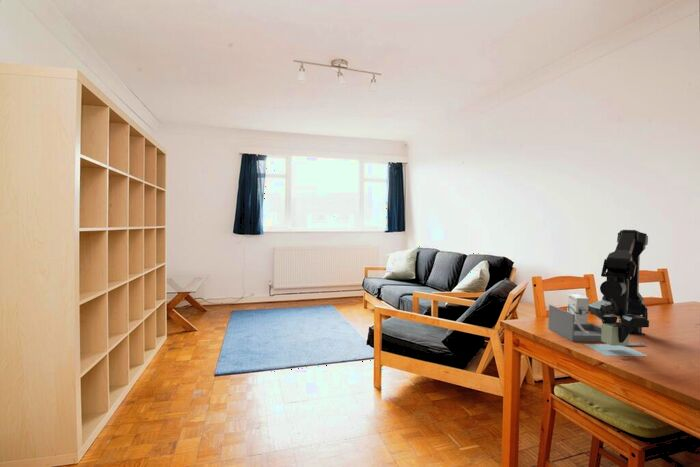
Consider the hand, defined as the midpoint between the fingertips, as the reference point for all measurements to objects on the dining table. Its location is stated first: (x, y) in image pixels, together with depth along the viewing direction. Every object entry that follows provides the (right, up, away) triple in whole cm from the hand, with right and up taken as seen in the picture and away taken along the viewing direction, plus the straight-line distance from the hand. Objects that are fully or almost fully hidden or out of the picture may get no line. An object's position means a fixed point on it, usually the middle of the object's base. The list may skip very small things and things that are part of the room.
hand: (615, 339), depth 114 cm
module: (0, -1, 0) cm, 1 cm away
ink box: (+8, -3, +31) cm, 32 cm away
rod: (+10, -4, +4) cm, 11 cm away
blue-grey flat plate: (0, -4, 0) cm, 4 cm away
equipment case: (0, -3, +15) cm, 15 cm away
